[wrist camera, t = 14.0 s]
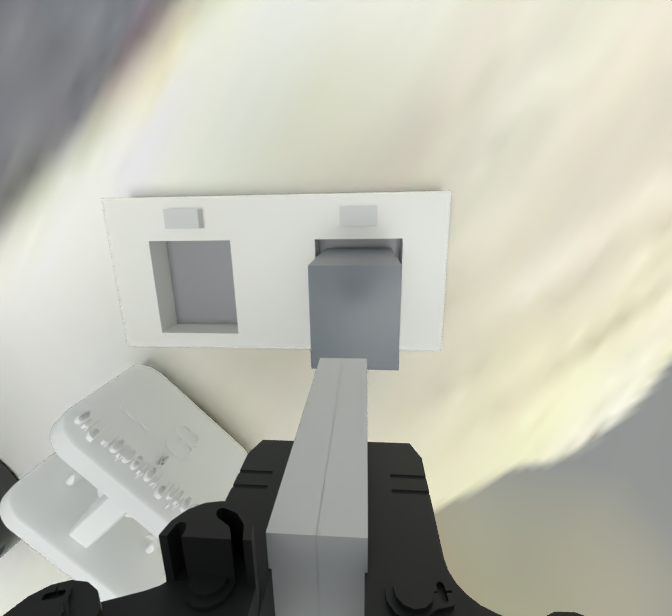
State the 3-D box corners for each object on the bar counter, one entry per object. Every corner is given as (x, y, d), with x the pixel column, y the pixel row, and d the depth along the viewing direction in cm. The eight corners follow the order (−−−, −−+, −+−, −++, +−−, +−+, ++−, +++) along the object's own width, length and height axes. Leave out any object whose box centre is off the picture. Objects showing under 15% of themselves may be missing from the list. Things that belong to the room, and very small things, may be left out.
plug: (329, 316, 31) (311, 368, 21) (328, 246, 30) (307, 265, 20) (388, 317, 31) (398, 369, 21) (389, 245, 29) (401, 265, 19)
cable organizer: (90, 416, 37) (-28, 504, 26) (152, 351, 35) (50, 418, 24) (199, 509, 39) (132, 628, 28) (264, 454, 37) (220, 561, 26)
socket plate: (151, 332, 34) (121, 349, 30) (130, 199, 31) (93, 198, 27) (433, 336, 32) (443, 355, 28) (441, 193, 29) (453, 190, 25)
